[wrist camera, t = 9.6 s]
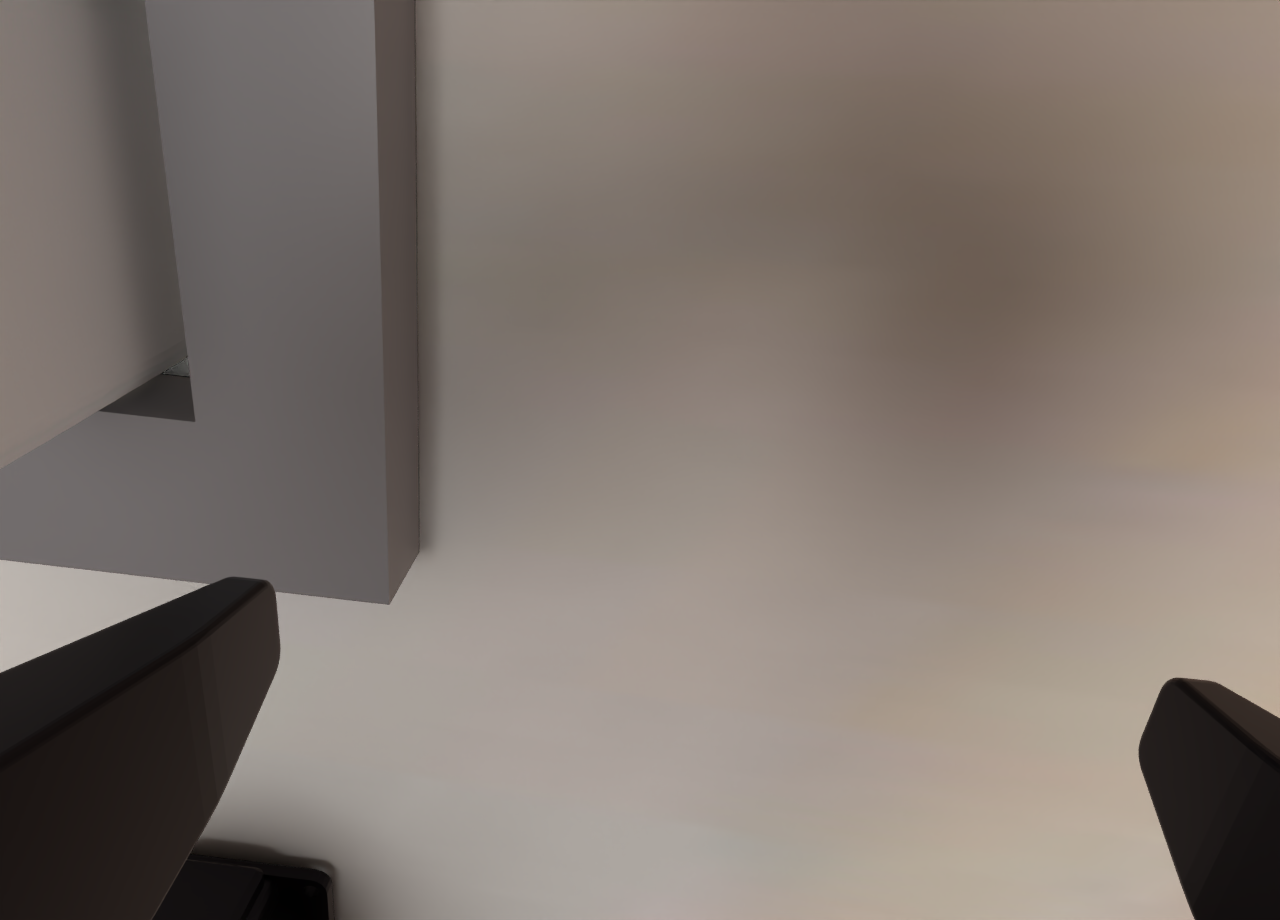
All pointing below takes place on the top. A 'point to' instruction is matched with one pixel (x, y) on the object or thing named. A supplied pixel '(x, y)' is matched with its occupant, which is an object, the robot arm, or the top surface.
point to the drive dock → (263, 320)
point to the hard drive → (80, 217)
